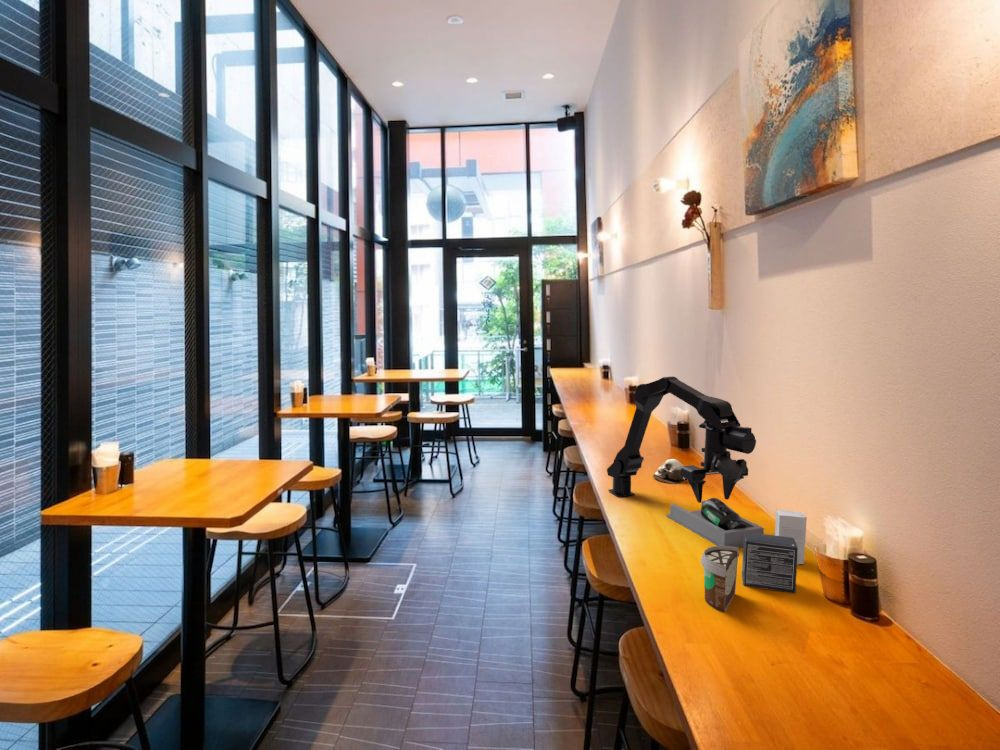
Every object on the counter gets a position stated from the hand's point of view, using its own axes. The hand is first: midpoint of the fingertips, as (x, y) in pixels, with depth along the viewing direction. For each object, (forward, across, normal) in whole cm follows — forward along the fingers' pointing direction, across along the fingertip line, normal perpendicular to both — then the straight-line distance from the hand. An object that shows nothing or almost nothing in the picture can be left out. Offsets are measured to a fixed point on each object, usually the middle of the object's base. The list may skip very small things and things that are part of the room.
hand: (712, 500), depth 158 cm
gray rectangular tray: (+8, 0, 0) cm, 8 cm away
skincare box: (+8, +4, -23) cm, 25 cm away
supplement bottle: (+2, 0, +1) cm, 3 cm away
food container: (+8, -26, -33) cm, 43 cm away
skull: (+8, +18, +45) cm, 49 cm away
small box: (+8, -10, -31) cm, 34 cm away
